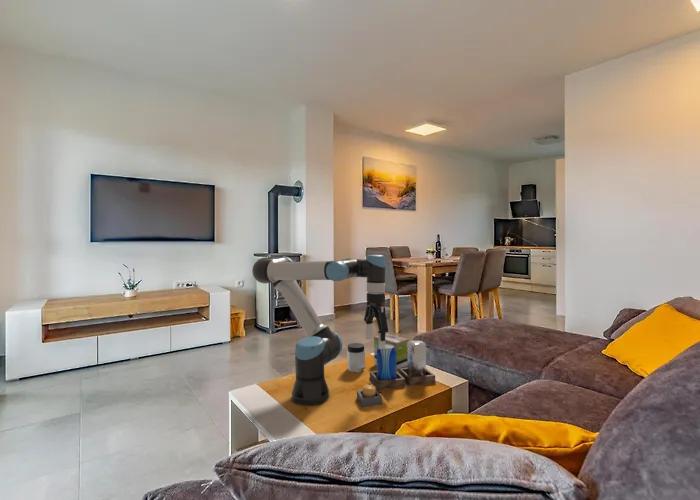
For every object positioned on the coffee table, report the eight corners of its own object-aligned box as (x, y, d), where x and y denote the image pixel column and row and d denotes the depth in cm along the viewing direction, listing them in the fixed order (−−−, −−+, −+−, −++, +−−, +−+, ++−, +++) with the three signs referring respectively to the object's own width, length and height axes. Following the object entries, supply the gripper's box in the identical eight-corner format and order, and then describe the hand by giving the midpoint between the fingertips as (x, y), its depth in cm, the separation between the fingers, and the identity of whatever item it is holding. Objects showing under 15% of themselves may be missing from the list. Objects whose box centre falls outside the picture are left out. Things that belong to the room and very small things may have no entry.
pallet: (379, 393, 149) (379, 382, 148) (369, 380, 162) (369, 371, 162) (436, 386, 155) (436, 376, 155) (422, 374, 168) (422, 365, 168)
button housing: (362, 407, 137) (362, 399, 137) (356, 398, 145) (356, 390, 145) (382, 404, 139) (382, 396, 139) (375, 395, 147) (375, 388, 147)
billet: (412, 383, 155) (411, 346, 155) (404, 376, 163) (404, 341, 163) (428, 381, 157) (428, 344, 157) (421, 374, 165) (420, 339, 165)
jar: (366, 371, 173) (366, 347, 173) (350, 373, 172) (349, 348, 171) (362, 365, 182) (361, 342, 182) (346, 367, 180) (345, 343, 180)
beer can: (395, 387, 151) (395, 349, 151) (375, 385, 153) (375, 348, 153) (397, 379, 160) (396, 343, 159) (378, 378, 161) (378, 342, 161)
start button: (364, 398, 139) (364, 390, 139) (361, 393, 144) (360, 385, 144) (377, 397, 140) (377, 389, 140) (373, 391, 145) (373, 384, 145)
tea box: (373, 365, 182) (373, 336, 182) (386, 360, 189) (386, 332, 189) (396, 373, 171) (395, 342, 171) (409, 367, 178) (409, 338, 177)
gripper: (397, 297, 136) (396, 352, 137) (372, 287, 160) (372, 334, 161) (379, 298, 134) (378, 354, 135) (357, 288, 158) (356, 336, 159)
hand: (375, 343), depth 148 cm, fingers open, 13 cm apart
